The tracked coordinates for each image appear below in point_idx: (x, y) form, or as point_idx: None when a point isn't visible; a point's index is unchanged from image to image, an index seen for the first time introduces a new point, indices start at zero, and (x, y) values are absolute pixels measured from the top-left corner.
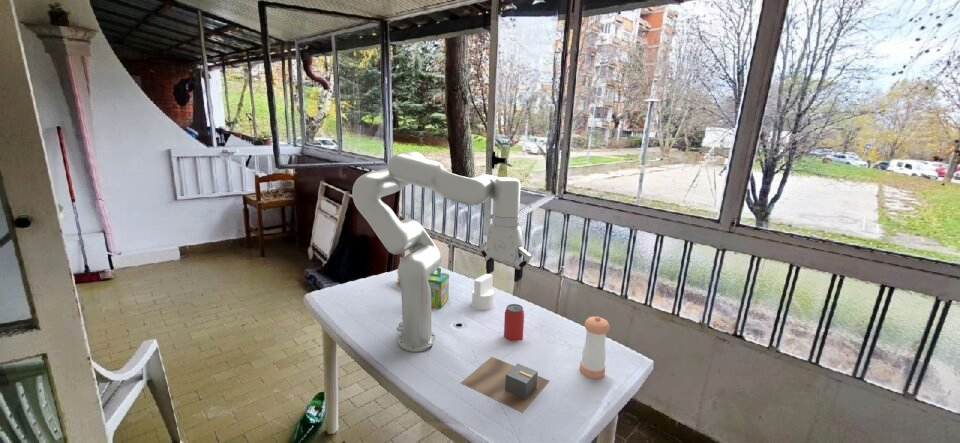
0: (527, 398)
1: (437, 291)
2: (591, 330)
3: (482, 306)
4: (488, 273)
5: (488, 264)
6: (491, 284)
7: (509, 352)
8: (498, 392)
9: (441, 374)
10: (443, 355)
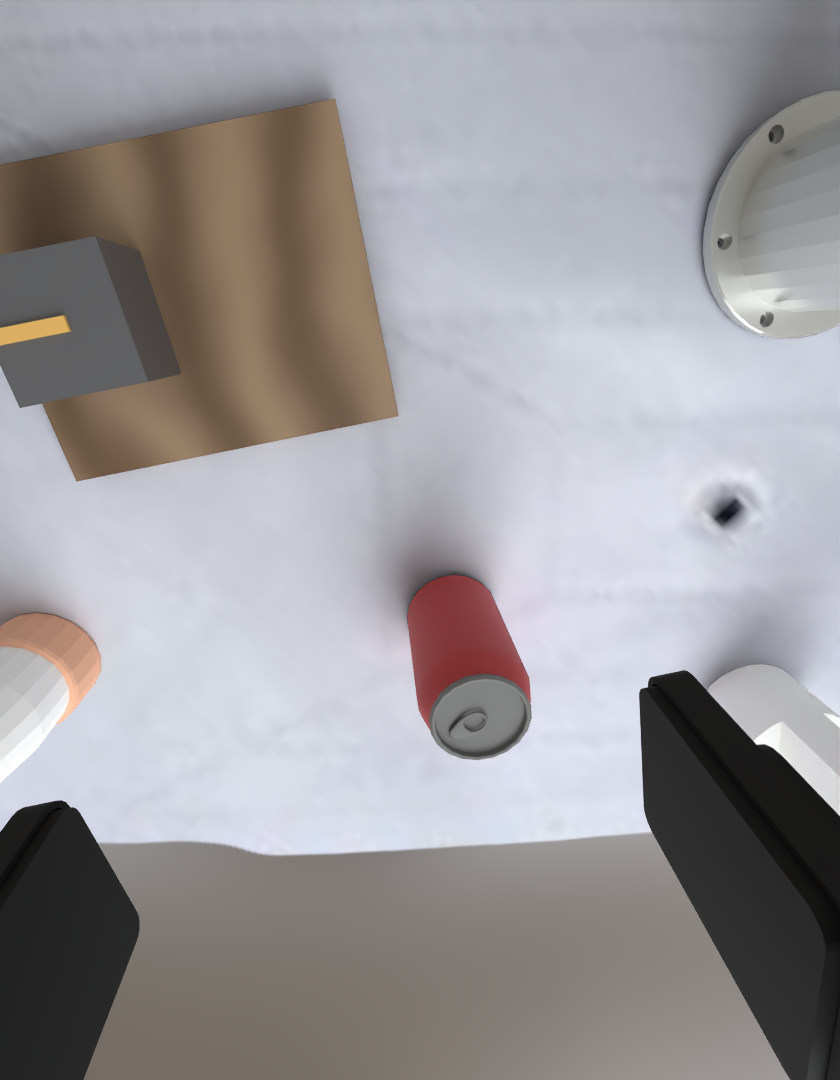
0: None
1: None
2: None
3: (731, 690)
4: (645, 688)
5: (781, 856)
6: None
7: (389, 525)
8: (143, 206)
9: (491, 111)
10: (605, 252)
